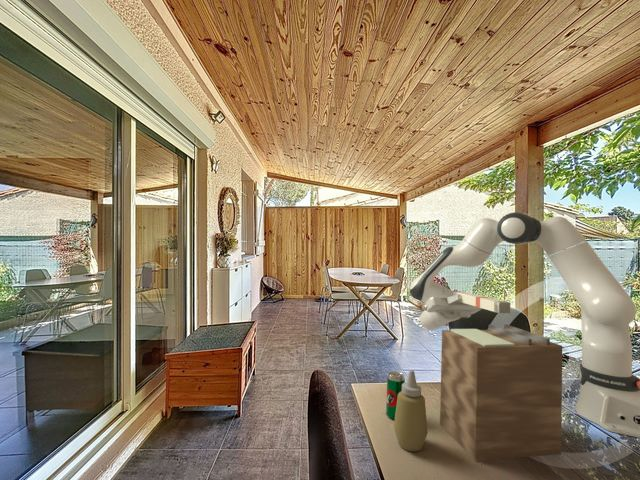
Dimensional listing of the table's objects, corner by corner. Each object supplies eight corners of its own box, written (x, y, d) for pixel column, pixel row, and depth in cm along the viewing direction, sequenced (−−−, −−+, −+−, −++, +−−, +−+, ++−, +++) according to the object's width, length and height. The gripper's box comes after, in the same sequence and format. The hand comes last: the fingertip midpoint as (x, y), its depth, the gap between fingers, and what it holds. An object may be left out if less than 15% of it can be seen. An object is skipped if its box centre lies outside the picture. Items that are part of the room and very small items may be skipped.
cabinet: (440, 423, 86) (442, 325, 86) (513, 419, 89) (514, 324, 90) (475, 461, 71) (477, 341, 72) (561, 453, 74) (562, 339, 75)
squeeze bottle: (386, 439, 78) (388, 368, 78) (410, 431, 82) (412, 363, 82) (409, 459, 71) (411, 380, 71) (434, 449, 74) (436, 374, 75)
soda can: (404, 422, 86) (405, 379, 86) (386, 419, 87) (387, 376, 87) (403, 412, 91) (404, 372, 91) (386, 410, 92) (387, 370, 92)
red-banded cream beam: (453, 300, 108) (453, 291, 108) (462, 300, 109) (462, 291, 109) (499, 313, 86) (499, 302, 86) (510, 313, 87) (510, 302, 87)
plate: (450, 330, 87) (450, 329, 87) (476, 330, 88) (476, 328, 88) (484, 346, 73) (484, 344, 73) (514, 345, 74) (514, 344, 74)
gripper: (418, 301, 115) (435, 287, 104) (467, 301, 118) (489, 288, 107) (421, 318, 112) (440, 305, 100) (472, 317, 115) (496, 305, 104)
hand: (466, 296), depth 104 cm, fingers closed on red-banded cream beam, 3 cm apart
